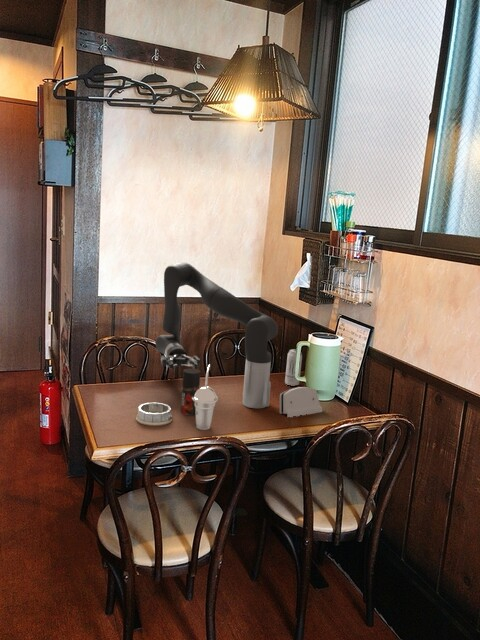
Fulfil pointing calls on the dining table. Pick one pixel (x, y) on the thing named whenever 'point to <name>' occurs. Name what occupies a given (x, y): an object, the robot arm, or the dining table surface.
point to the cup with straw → (204, 404)
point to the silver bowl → (154, 414)
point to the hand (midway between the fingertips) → (184, 366)
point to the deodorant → (189, 390)
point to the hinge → (299, 402)
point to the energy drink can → (292, 368)
